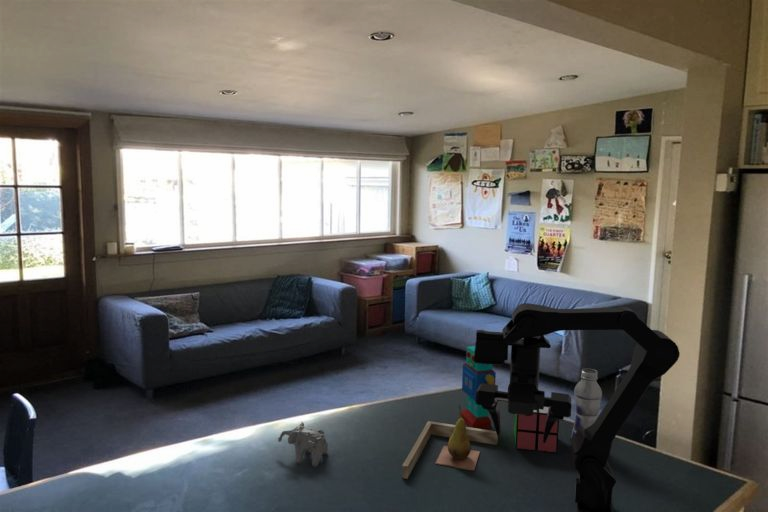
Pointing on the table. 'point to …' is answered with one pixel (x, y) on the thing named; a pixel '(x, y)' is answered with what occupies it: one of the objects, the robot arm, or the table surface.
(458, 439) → the fruit
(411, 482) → the table surface
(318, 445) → the elephant statuette
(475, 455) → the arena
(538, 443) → the puzzle cube
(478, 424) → the toy robot
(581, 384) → the plastic bottle
